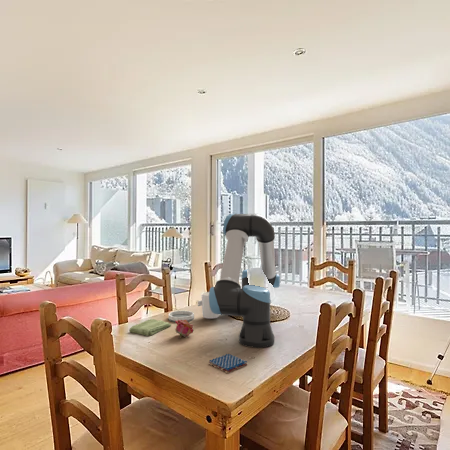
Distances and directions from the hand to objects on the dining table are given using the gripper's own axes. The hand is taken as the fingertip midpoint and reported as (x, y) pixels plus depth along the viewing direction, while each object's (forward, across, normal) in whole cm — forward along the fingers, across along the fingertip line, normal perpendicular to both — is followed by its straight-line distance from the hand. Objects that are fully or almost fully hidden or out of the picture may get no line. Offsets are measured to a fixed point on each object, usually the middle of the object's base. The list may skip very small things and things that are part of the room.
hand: (203, 305), depth 172 cm
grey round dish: (+7, +11, -8) cm, 15 cm away
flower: (+21, -14, -8) cm, 27 cm away
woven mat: (+25, -48, -9) cm, 55 cm away
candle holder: (-5, 0, -7) cm, 8 cm away
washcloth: (+28, +5, -9) cm, 29 cm away
